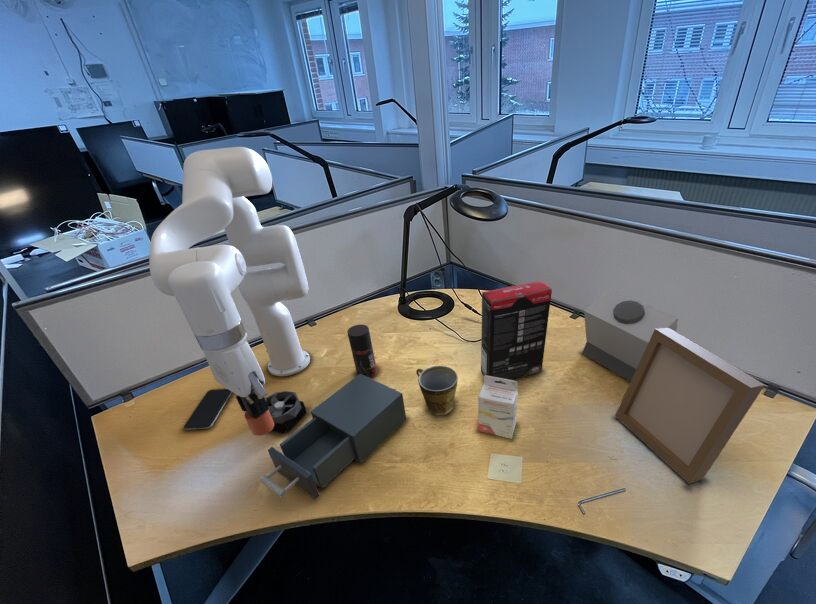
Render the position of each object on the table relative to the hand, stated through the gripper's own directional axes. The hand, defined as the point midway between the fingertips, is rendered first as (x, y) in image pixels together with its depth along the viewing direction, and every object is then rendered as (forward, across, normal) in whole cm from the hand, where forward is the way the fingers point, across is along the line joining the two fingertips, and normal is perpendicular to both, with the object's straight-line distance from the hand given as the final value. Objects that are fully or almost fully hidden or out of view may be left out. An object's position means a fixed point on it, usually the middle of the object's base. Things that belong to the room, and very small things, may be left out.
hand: (255, 409), depth 81 cm
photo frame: (+21, +70, +56) cm, 92 cm away
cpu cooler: (+21, -16, +12) cm, 29 cm away
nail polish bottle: (+5, 0, 0) cm, 5 cm away
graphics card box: (+21, +27, +59) cm, 68 cm away
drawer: (+20, +5, +5) cm, 21 cm away
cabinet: (+21, +5, +20) cm, 30 cm away
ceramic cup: (+21, +16, +37) cm, 46 cm away
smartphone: (+21, -37, +3) cm, 42 cm away
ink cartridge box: (+21, +34, +38) cm, 55 cm away
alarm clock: (+21, +53, +79) cm, 97 cm away
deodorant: (+21, -10, +37) cm, 44 cm away
